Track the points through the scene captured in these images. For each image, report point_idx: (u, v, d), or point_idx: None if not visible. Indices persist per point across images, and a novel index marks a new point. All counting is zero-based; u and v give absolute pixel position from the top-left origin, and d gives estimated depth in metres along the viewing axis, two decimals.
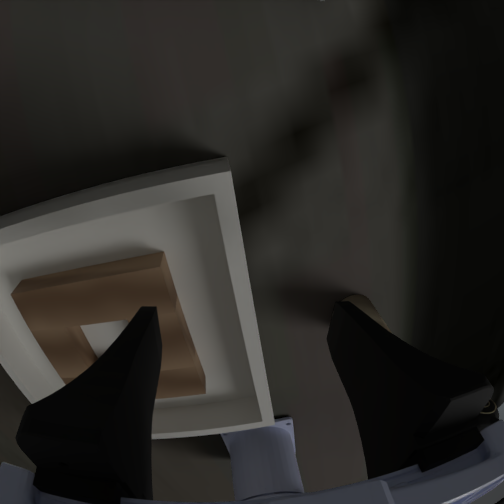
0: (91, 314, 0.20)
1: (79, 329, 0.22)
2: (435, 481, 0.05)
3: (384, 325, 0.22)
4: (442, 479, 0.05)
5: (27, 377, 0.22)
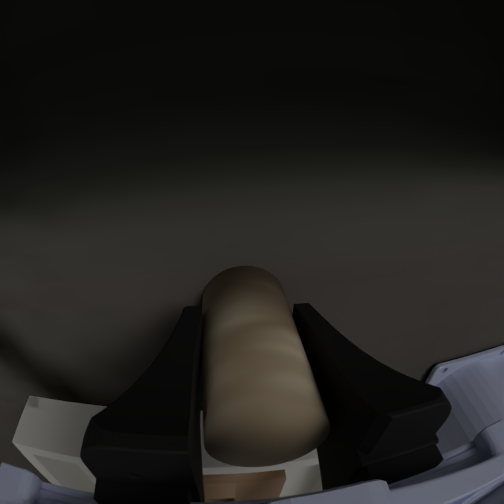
0: None
1: None
2: (435, 481, 0.05)
3: (212, 344, 0.10)
4: (442, 479, 0.05)
5: None
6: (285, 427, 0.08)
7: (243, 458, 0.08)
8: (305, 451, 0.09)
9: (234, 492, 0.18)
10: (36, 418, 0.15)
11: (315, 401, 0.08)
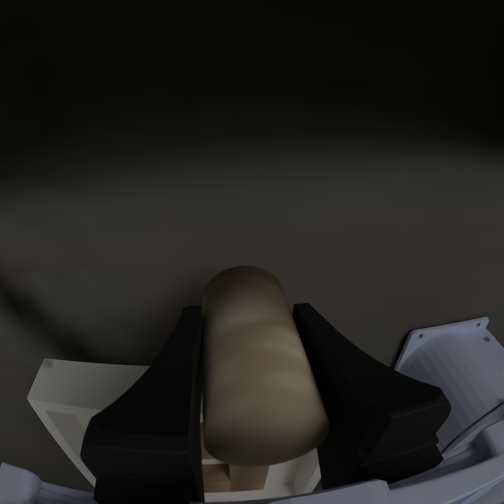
0: None
1: None
2: (435, 481, 0.05)
3: (212, 343, 0.10)
4: (442, 479, 0.05)
5: None
6: (285, 426, 0.08)
7: (243, 457, 0.08)
8: (305, 451, 0.09)
9: None
10: (50, 377, 0.18)
11: (315, 400, 0.08)
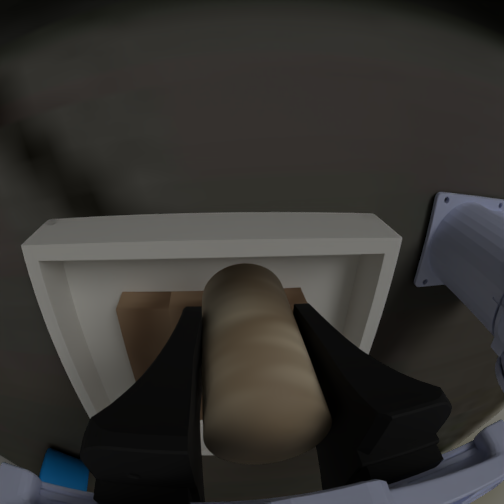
0: None
1: None
2: (435, 481, 0.05)
3: (212, 338, 0.10)
4: (442, 479, 0.05)
5: None
6: (286, 421, 0.08)
7: (243, 454, 0.08)
8: (306, 448, 0.09)
9: None
10: (52, 229, 0.17)
11: (317, 394, 0.08)
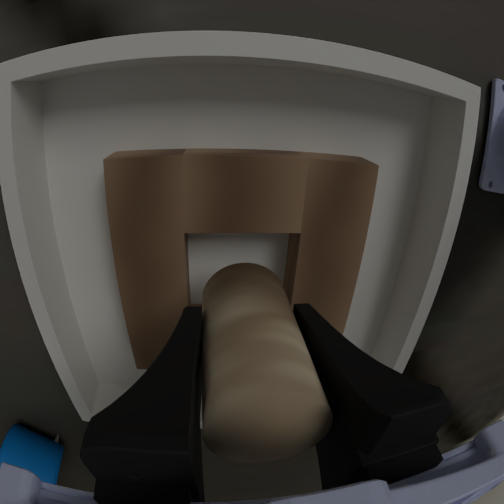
0: (168, 280, 0.15)
1: None
2: (435, 481, 0.05)
3: (212, 335, 0.10)
4: (442, 479, 0.05)
5: None
6: (287, 417, 0.08)
7: (243, 452, 0.08)
8: (306, 446, 0.08)
9: (302, 204, 0.14)
10: None
11: (318, 390, 0.08)
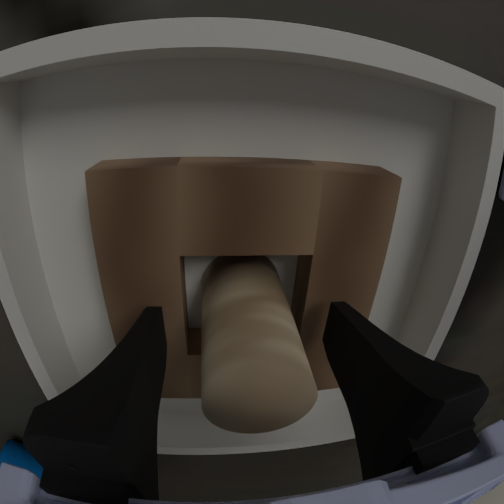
0: (163, 307, 0.13)
1: None
2: (435, 481, 0.05)
3: (211, 316, 0.11)
4: (442, 479, 0.05)
5: (277, 431, 0.18)
6: (276, 389, 0.09)
7: (237, 422, 0.10)
8: (295, 419, 0.10)
9: (316, 222, 0.12)
10: None
11: (303, 366, 0.09)
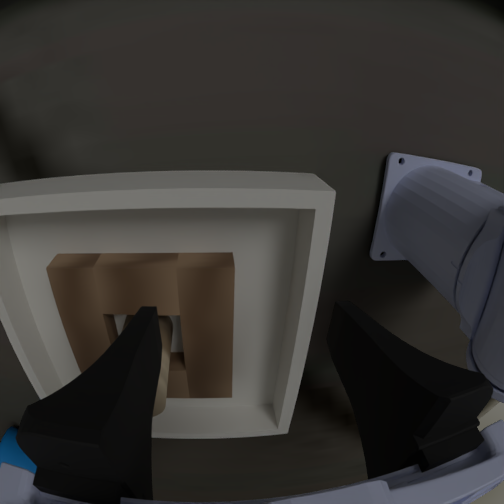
0: (99, 340, 0.20)
1: None
2: (435, 481, 0.05)
3: None
4: (442, 479, 0.05)
5: (191, 424, 0.26)
6: None
7: None
8: (158, 411, 0.17)
9: (177, 297, 0.19)
10: None
11: None
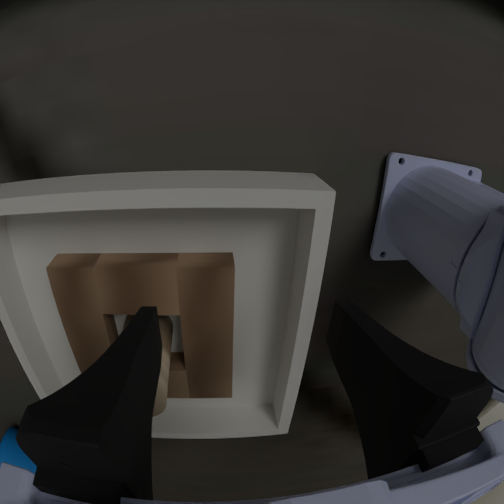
0: (99, 340, 0.20)
1: None
2: (435, 481, 0.05)
3: None
4: (442, 479, 0.05)
5: (191, 424, 0.26)
6: None
7: None
8: (159, 411, 0.17)
9: (177, 297, 0.19)
10: None
11: None
